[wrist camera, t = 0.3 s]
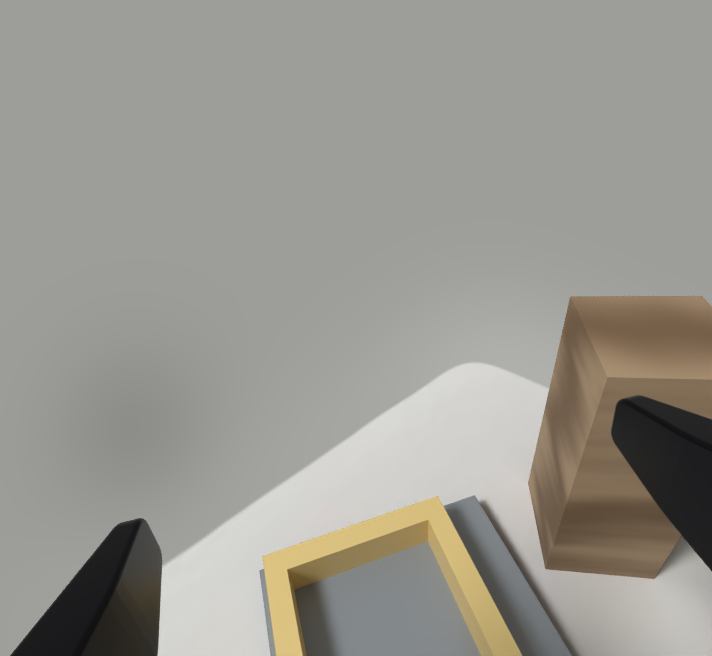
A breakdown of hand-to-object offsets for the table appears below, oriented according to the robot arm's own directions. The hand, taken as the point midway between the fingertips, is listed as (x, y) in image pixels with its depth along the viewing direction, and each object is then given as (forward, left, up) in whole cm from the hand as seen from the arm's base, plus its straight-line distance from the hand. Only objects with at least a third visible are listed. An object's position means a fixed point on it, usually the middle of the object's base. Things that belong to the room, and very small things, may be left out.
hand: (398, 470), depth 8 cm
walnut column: (+5, -12, -17) cm, 21 cm away
